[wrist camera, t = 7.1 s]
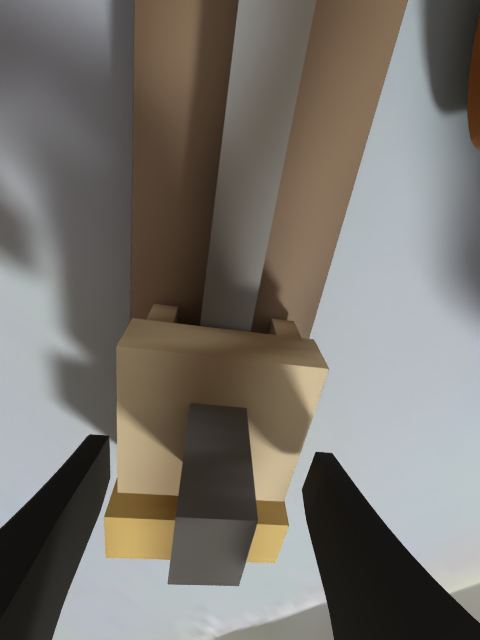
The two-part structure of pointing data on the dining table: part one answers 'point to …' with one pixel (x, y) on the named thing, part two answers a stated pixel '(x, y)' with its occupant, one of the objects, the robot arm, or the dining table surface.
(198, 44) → the rail
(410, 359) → the dining table surface
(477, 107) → the toy sandwich meal
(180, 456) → the tan tabbed slider block
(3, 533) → the robot arm
